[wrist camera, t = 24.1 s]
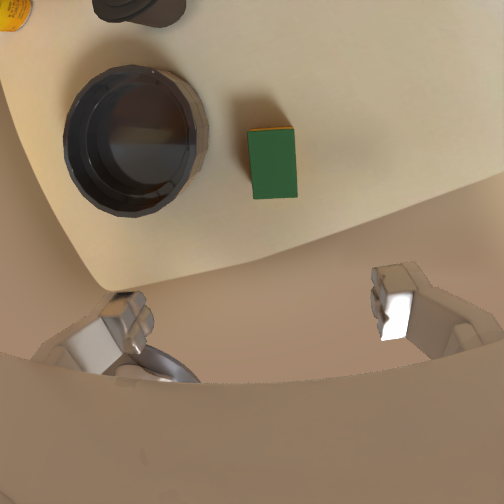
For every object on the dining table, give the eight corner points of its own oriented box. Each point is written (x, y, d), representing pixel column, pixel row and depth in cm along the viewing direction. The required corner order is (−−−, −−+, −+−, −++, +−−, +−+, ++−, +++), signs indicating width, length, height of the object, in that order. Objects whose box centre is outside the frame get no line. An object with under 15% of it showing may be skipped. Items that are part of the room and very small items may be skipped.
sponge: (296, 188, 32) (297, 197, 29) (256, 190, 33) (253, 199, 30) (292, 126, 29) (293, 128, 26) (250, 129, 29) (246, 131, 26)
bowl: (238, 153, 31) (230, 162, 26) (136, 223, 36) (116, 242, 31) (160, 42, 25) (139, 34, 20) (71, 129, 30) (44, 136, 26)
